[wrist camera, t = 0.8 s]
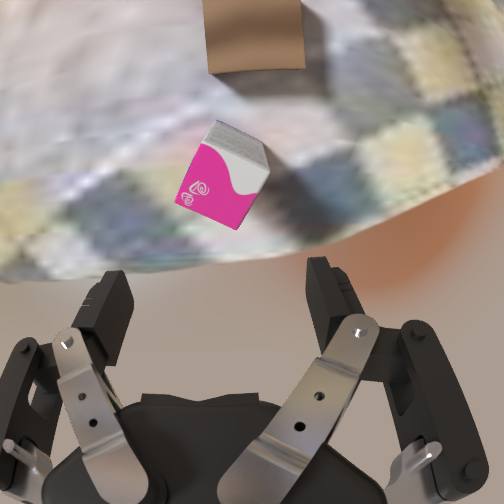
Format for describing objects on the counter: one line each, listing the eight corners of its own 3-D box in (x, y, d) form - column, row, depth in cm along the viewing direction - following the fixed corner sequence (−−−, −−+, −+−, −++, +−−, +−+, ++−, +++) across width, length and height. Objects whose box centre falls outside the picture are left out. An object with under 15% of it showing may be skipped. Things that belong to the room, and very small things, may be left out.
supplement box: (214, 118, 30) (203, 137, 20) (263, 141, 31) (276, 172, 22) (191, 163, 32) (172, 204, 23) (239, 185, 34) (240, 234, 24)
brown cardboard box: (205, 0, 22) (201, -10, 19) (291, -4, 22) (299, -14, 19) (212, 74, 27) (208, 73, 24) (297, 69, 27) (305, 68, 24)
